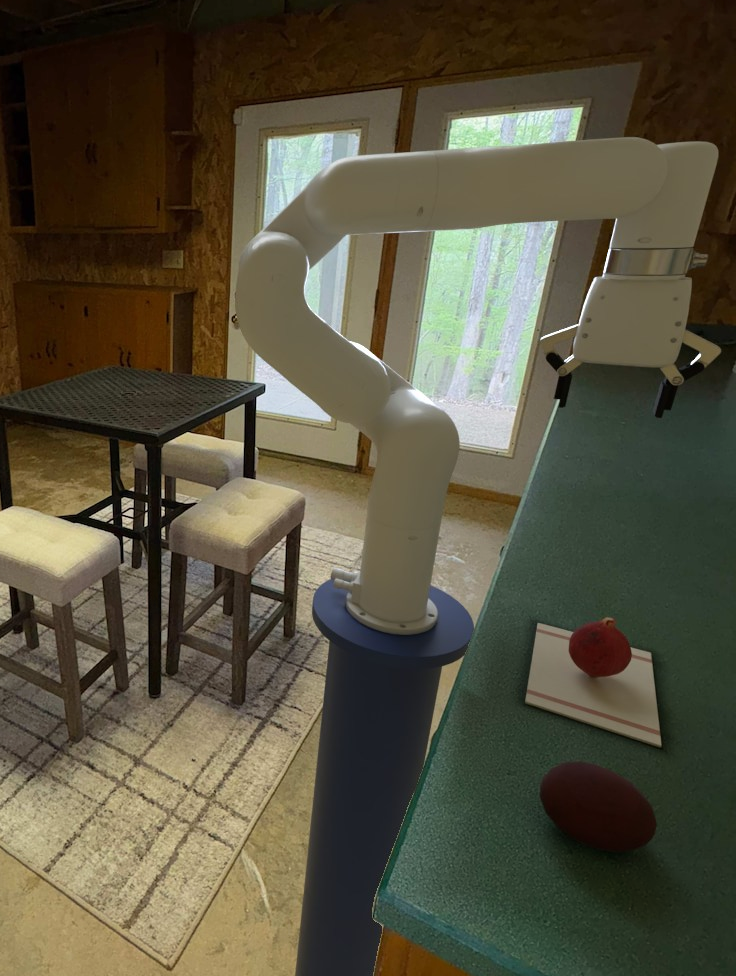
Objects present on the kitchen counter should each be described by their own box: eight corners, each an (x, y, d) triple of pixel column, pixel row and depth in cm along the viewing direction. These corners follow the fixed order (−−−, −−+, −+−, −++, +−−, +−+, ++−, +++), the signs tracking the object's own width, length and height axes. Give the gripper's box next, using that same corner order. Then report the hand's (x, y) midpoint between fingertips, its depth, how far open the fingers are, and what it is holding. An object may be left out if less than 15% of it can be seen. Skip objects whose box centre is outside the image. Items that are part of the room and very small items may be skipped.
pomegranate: (593, 696, 70) (611, 637, 67) (550, 665, 75) (565, 608, 72) (634, 687, 71) (653, 628, 68) (589, 656, 77) (605, 601, 74)
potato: (532, 780, 60) (545, 732, 58) (639, 816, 56) (657, 765, 54) (532, 840, 54) (547, 789, 52) (652, 885, 50) (673, 832, 48)
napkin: (524, 703, 70) (525, 701, 70) (537, 624, 84) (537, 622, 84) (660, 748, 64) (661, 745, 63) (650, 654, 77) (651, 652, 77)
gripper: (741, 263, 69) (695, 412, 76) (557, 263, 79) (529, 395, 85) (753, 267, 64) (702, 427, 70) (554, 266, 73) (524, 408, 79)
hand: (608, 410), depth 77 cm, fingers open, 9 cm apart
